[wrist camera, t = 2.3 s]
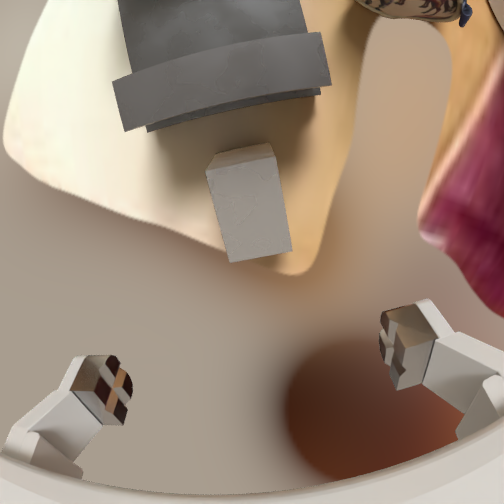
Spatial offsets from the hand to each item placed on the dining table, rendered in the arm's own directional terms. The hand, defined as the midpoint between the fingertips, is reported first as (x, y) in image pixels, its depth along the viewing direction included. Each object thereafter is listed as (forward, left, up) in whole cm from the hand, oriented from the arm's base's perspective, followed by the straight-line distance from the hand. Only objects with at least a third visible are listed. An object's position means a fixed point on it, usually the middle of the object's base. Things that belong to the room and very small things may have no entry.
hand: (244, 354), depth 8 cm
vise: (0, -15, -17) cm, 23 cm away
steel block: (0, 0, -17) cm, 17 cm away
